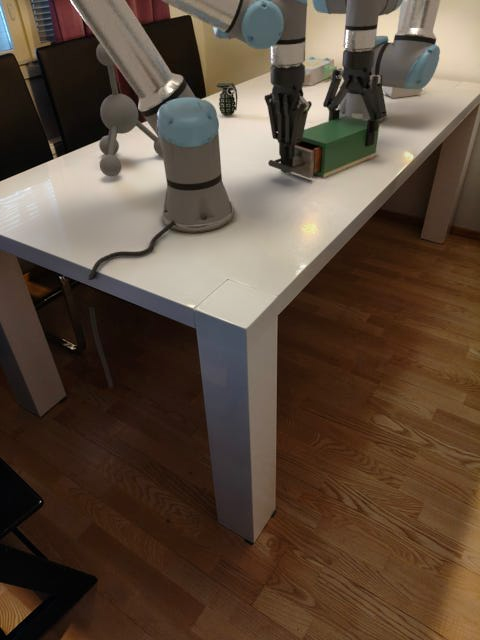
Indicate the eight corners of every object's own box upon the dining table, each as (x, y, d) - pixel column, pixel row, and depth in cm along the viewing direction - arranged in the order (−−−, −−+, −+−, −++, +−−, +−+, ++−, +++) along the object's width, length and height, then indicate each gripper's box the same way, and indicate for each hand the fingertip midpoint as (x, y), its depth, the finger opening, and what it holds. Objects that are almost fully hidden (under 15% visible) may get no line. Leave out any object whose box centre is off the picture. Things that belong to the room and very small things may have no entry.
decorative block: (302, 55, 216) (343, 58, 206) (301, 71, 220) (342, 74, 210) (270, 66, 200) (313, 70, 190) (270, 83, 204) (313, 88, 194)
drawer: (293, 185, 117) (293, 158, 113) (264, 174, 123) (263, 148, 119) (360, 157, 129) (362, 132, 125) (330, 148, 135) (332, 124, 131)
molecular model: (186, 167, 131) (171, 41, 113) (104, 183, 125) (74, 52, 107) (164, 142, 149) (148, 29, 130) (91, 155, 143) (64, 38, 125)
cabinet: (323, 177, 122) (325, 143, 117) (291, 166, 129) (291, 133, 124) (375, 155, 132) (379, 123, 127) (342, 146, 139) (345, 115, 134)
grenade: (217, 117, 168) (214, 86, 162) (221, 112, 172) (219, 82, 166) (235, 117, 166) (233, 86, 160) (239, 113, 171) (238, 82, 165)
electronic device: (391, 98, 176) (404, -1, 158) (381, 93, 182) (392, -2, 163) (421, 94, 178) (438, -4, 160) (410, 90, 184) (425, -5, 166)
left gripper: (321, 64, 104) (316, 172, 118) (279, 58, 112) (279, 159, 126) (297, 70, 100) (295, 181, 114) (254, 63, 108) (257, 167, 122)
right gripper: (410, 51, 112) (396, 146, 126) (331, 42, 127) (326, 128, 140) (391, 56, 109) (378, 153, 122) (312, 46, 123) (308, 134, 137)
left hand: (286, 170), depth 120 cm, fingers closed
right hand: (350, 140), depth 131 cm, fingers closed on cabinet, 11 cm apart
